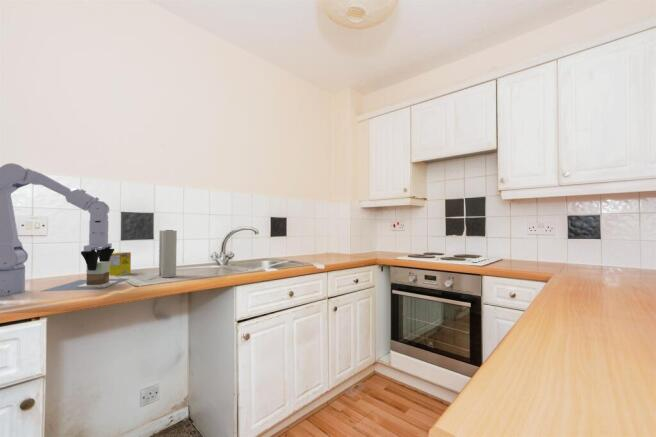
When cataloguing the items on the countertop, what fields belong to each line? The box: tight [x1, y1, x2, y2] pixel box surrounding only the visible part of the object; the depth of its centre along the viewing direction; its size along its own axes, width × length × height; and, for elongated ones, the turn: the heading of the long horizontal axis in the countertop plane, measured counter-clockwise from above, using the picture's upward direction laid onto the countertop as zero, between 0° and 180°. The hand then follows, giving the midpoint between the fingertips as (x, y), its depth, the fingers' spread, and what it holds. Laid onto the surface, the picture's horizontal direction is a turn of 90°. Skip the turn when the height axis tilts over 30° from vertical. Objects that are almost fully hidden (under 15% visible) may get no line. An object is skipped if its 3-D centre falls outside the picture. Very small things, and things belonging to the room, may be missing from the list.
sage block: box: [86, 261, 109, 275], centre depth 113 cm, size 5×5×4 cm
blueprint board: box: [41, 278, 129, 292], centre depth 114 cm, size 21×19×2 cm
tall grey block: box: [158, 229, 178, 278], centre depth 137 cm, size 7×6×21 cm
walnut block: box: [86, 272, 110, 285], centre depth 113 cm, size 5×5×4 cm
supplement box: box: [109, 251, 132, 276], centre depth 138 cm, size 6×6×11 cm
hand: (98, 268), depth 113 cm, fingers open, 7 cm apart
